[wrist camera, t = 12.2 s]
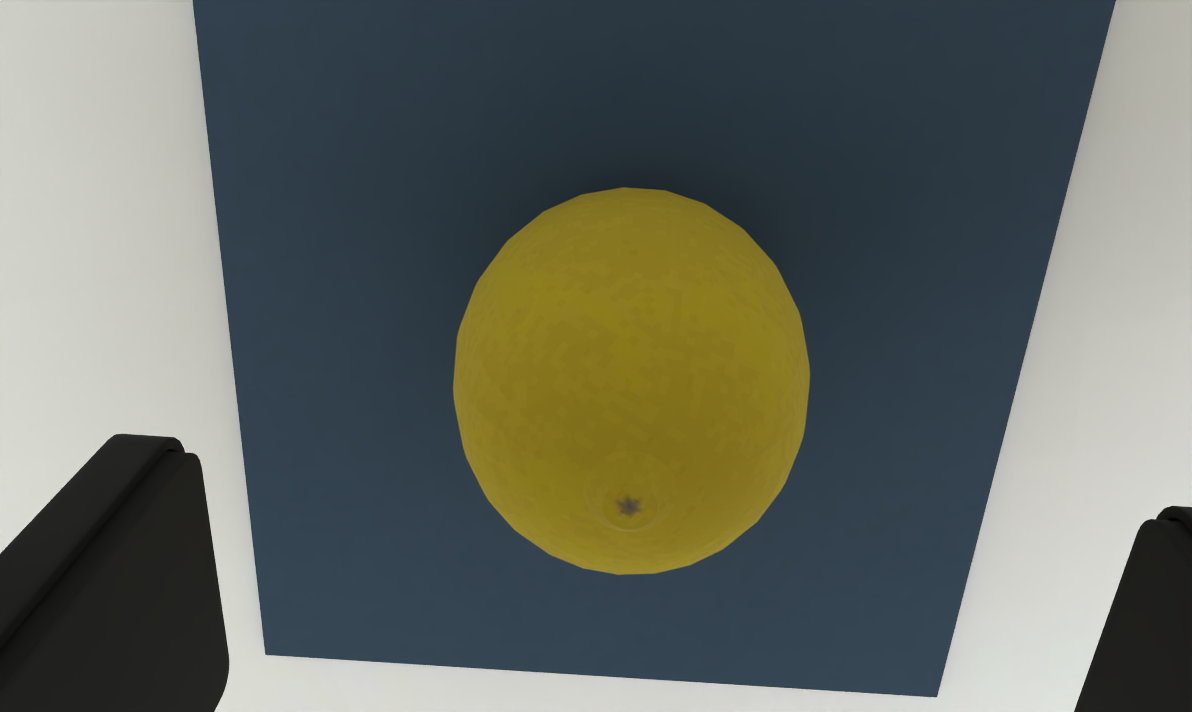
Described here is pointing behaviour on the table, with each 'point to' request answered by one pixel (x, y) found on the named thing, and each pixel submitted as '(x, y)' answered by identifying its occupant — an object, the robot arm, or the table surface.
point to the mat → (647, 161)
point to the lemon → (631, 381)
